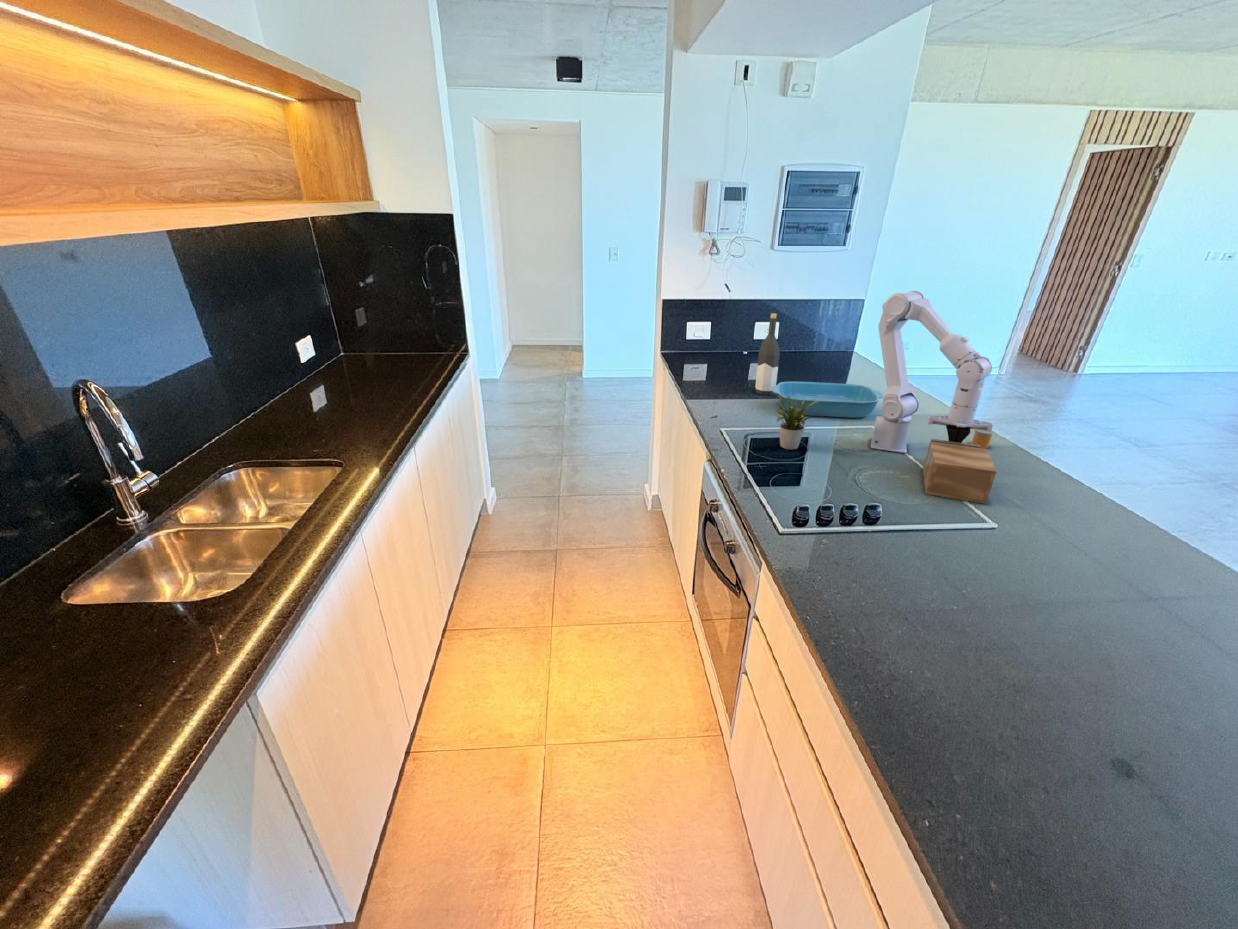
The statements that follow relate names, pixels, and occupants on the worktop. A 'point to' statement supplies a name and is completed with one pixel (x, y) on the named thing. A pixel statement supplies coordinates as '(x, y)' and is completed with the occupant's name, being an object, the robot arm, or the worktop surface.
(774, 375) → the wine bottle
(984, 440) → the jar
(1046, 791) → the worktop surface
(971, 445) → the drawer
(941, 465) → the wooden box
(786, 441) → the house plant
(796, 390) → the casserole dish
